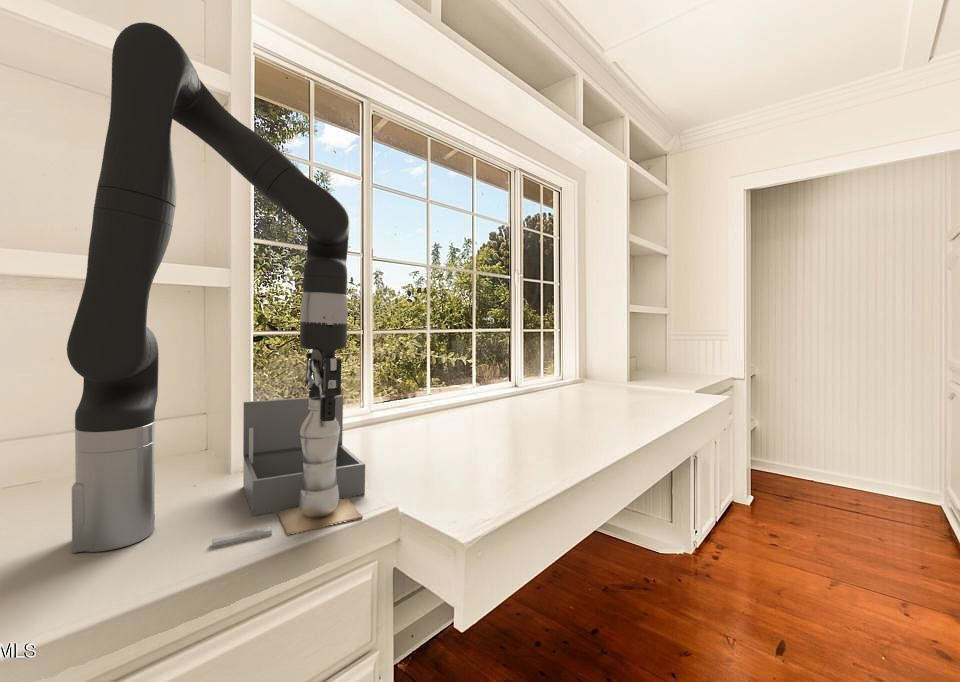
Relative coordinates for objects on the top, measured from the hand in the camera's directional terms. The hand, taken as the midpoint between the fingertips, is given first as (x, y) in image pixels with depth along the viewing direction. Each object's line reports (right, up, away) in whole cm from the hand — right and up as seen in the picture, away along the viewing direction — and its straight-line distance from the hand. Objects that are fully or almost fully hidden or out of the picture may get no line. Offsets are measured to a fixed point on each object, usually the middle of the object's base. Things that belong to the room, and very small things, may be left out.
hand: (320, 415), depth 75 cm
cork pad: (0, -18, +1) cm, 18 cm away
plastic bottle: (-1, -17, +1) cm, 17 cm away
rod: (-9, -18, -8) cm, 22 cm away
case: (-8, -17, +12) cm, 22 cm away
